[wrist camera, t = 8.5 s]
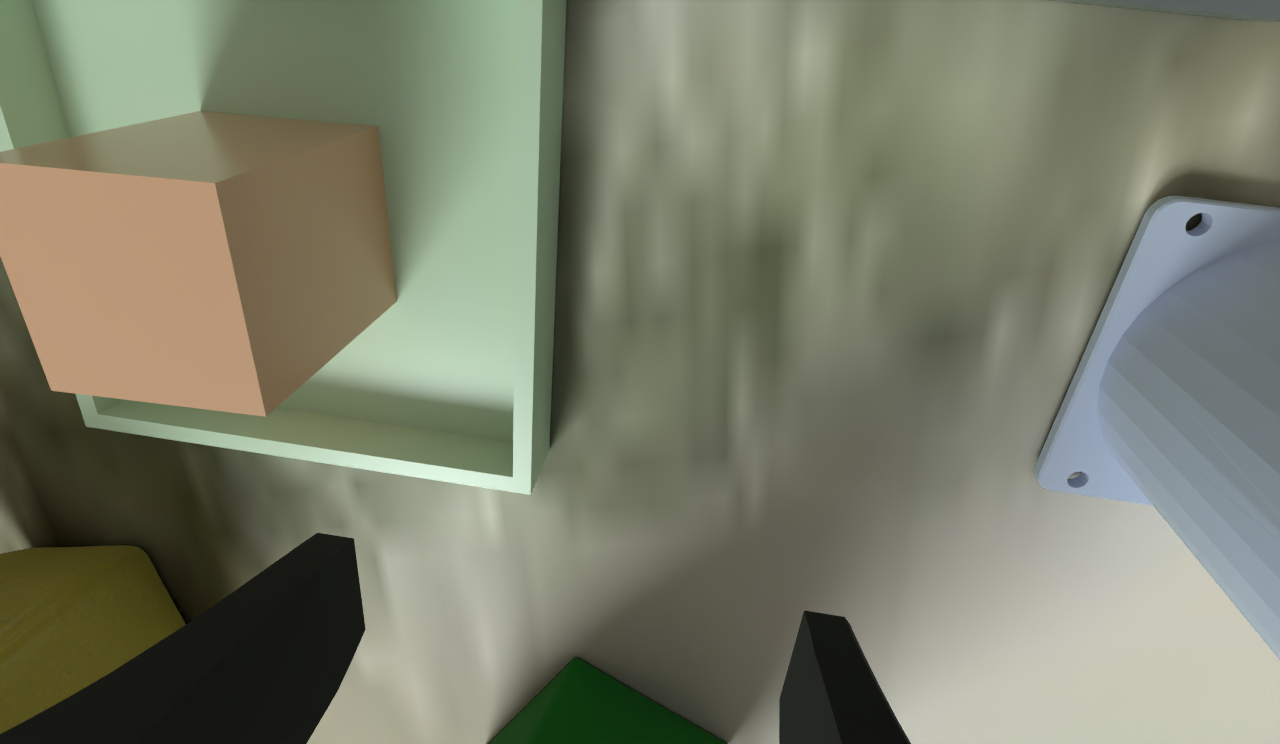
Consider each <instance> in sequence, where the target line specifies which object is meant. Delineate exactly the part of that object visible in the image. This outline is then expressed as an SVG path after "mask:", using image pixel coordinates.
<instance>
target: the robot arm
mask: <svg viewBox="0 0 1280 744" xmlns="http://www.w3.org/2000/svg"><path fill="white" fill-rule="evenodd" d="M1198 213H1202V220H1201V222H1200V224H1199V225H1198V226H1197V227H1196V228H1194V229H1192V230H1190V231H1186V230H1185V228H1186V223H1187V222H1188V220H1189V219H1190V218H1191V217H1192V216H1194V215H1196V214H1198ZM1075 472H1082V473H1081V474H1080V475H1079V476H1078V477H1076V478H1074V479H1067V478H1068V477H1069V476H1070V475H1071V474H1073V473H1075ZM1034 475H1035V478H1036V479H1037V481H1038V483H1039V484H1040V485H1041V486H1042V487H1043V488H1044V489H1047V490H1050V491H1056V492H1063V493H1069V494H1076V495H1083V496H1090V497H1097V498H1104V499H1111V500H1117V501H1124V502H1131V503H1138V504H1145V505H1152V506H1154V507H1155V508H1156V510H1157V511H1158V512H1159V513H1160V515H1161V516H1162V517H1163V518H1164V519H1165V521H1166V522H1167V523H1168V524H1169V526H1170V527H1171V528H1172V529H1173V530H1174V532H1175V533H1176V534H1177V535H1178V537H1179V538H1180V539H1181V540H1182V541H1183V543H1184V544H1185V545H1186V546H1187V547H1188V549H1189V550H1190V551H1191V552H1192V554H1193V555H1194V556H1195V557H1196V558H1197V560H1198V561H1199V562H1200V563H1201V565H1202V566H1203V567H1204V568H1205V569H1206V571H1207V572H1208V573H1209V574H1210V576H1211V577H1212V578H1213V579H1214V580H1215V582H1216V583H1217V584H1218V585H1219V587H1220V588H1221V589H1222V590H1223V591H1224V593H1225V594H1226V595H1227V596H1228V597H1229V599H1230V600H1231V601H1232V602H1233V604H1234V605H1235V606H1236V607H1237V608H1238V610H1239V611H1240V612H1241V613H1242V615H1243V616H1244V617H1245V618H1246V619H1247V621H1248V622H1249V623H1250V624H1251V626H1252V627H1253V628H1254V629H1255V630H1256V632H1257V633H1258V634H1259V635H1260V637H1261V638H1262V639H1263V640H1264V641H1265V643H1266V644H1267V645H1268V646H1269V648H1270V649H1271V650H1272V651H1273V652H1274V654H1275V655H1276V656H1277V657H1278V658H1279V660H1280V208H1278V207H1270V206H1261V205H1253V204H1244V203H1236V202H1227V201H1219V200H1210V199H1202V198H1193V197H1185V196H1167V197H1164V198H1162V199H1159V200H1157V201H1156V202H1155V203H1154V204H1152V205H1151V206H1150V207H1149V208H1148V210H1147V211H1146V213H1145V214H1144V216H1143V219H1142V221H1141V223H1140V226H1139V228H1138V230H1137V233H1136V235H1135V237H1134V240H1133V242H1132V244H1131V246H1130V249H1129V251H1128V253H1127V256H1126V258H1125V260H1124V263H1123V265H1122V267H1121V269H1120V272H1119V274H1118V276H1117V279H1116V281H1115V283H1114V286H1113V288H1112V290H1111V292H1110V295H1109V297H1108V299H1107V302H1106V304H1105V306H1104V309H1103V311H1102V313H1101V315H1100V318H1099V320H1098V322H1097V325H1096V327H1095V329H1094V332H1093V334H1092V336H1091V338H1090V341H1089V343H1088V345H1087V348H1086V350H1085V352H1084V355H1083V357H1082V359H1081V361H1080V364H1079V366H1078V368H1077V371H1076V373H1075V375H1074V378H1073V380H1072V382H1071V384H1070V387H1069V389H1068V391H1067V394H1066V396H1065V398H1064V401H1063V403H1062V405H1061V408H1060V410H1059V412H1058V414H1057V417H1056V419H1055V421H1054V424H1053V426H1052V428H1051V431H1050V433H1049V435H1048V437H1047V440H1046V442H1045V444H1044V447H1043V449H1042V451H1041V454H1040V456H1039V458H1038V460H1037V463H1036V465H1035V468H1034ZM364 631H365V623H364V615H363V607H362V599H361V592H360V584H359V576H358V568H357V560H356V552H355V545H354V539H353V538H346V537H340V536H334V535H328V534H321V533H317V534H315V535H314V536H312V537H311V538H309V539H308V540H306V541H305V542H303V543H302V544H301V545H299V546H298V547H296V548H295V549H293V550H292V551H291V552H289V553H288V554H286V555H285V556H284V557H282V558H281V559H279V560H278V561H276V562H275V563H274V564H272V565H271V566H269V567H268V568H267V569H265V570H264V571H262V572H261V573H260V574H258V575H257V576H255V577H254V578H252V579H251V580H250V581H248V582H247V583H245V584H244V585H243V586H241V587H240V588H238V589H237V590H235V591H234V592H233V593H231V594H230V595H228V596H227V597H225V598H224V599H222V600H221V601H220V602H218V603H217V604H215V605H214V606H212V607H211V608H209V609H208V610H206V611H205V612H204V613H202V614H201V615H199V616H198V617H196V618H195V619H193V620H192V621H190V622H189V623H187V624H186V625H185V626H183V627H181V628H180V629H178V630H177V631H175V632H174V633H172V634H170V635H169V636H167V637H166V638H164V639H163V640H161V641H159V642H158V643H156V644H155V645H153V646H152V647H150V648H148V649H147V650H145V651H144V652H142V653H141V654H139V655H137V656H136V657H134V658H133V659H131V660H130V661H128V662H127V663H125V664H123V665H122V666H120V667H119V668H117V669H116V670H114V671H112V672H111V673H109V674H107V675H106V676H104V677H102V678H101V679H99V680H97V681H96V682H94V683H92V684H90V685H89V686H87V687H85V688H83V689H82V690H80V691H78V692H77V693H75V694H73V695H71V696H70V697H68V698H66V699H64V700H62V701H61V702H59V703H57V704H55V705H53V706H52V707H50V708H48V709H46V710H44V711H42V712H41V713H39V714H37V715H35V716H33V717H32V718H30V719H28V720H26V721H24V722H22V723H20V724H19V725H17V726H15V727H13V728H11V729H9V730H7V731H5V732H3V733H1V734H0V744H306V743H307V742H308V740H309V738H310V737H311V735H312V733H313V732H314V730H315V728H316V726H317V725H318V723H319V721H320V720H321V718H322V716H323V715H324V713H325V711H326V710H327V708H328V706H329V705H330V703H331V701H332V699H333V698H334V696H335V694H336V693H337V691H338V689H339V687H340V685H341V682H342V680H343V678H344V676H345V674H346V672H347V670H348V667H349V665H350V663H351V661H352V659H353V656H354V654H355V652H356V650H357V647H358V645H359V643H360V640H361V638H362V636H363V633H364ZM779 743H780V744H911V743H910V741H909V740H908V738H907V736H906V734H905V733H904V731H903V729H902V727H901V725H900V724H899V722H898V720H897V718H896V716H895V714H894V713H893V711H892V709H891V707H890V705H889V703H888V701H887V699H886V698H885V696H884V694H883V692H882V690H881V688H880V686H879V684H878V682H877V680H876V678H875V676H874V674H873V672H872V670H871V668H870V666H869V664H868V662H867V660H866V658H865V656H864V654H863V652H862V649H861V647H860V645H859V643H858V641H857V639H856V637H855V634H854V632H853V630H852V628H851V626H850V624H849V622H848V621H847V620H846V619H845V617H841V616H834V615H828V614H822V613H816V612H809V611H804V614H803V617H802V621H801V624H800V628H799V632H798V635H797V639H796V642H795V646H794V650H793V653H792V657H791V660H790V664H789V667H788V671H787V675H786V678H785V682H784V685H783V689H782V692H781V696H780V727H779Z"/></svg>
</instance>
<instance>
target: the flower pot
mask: <svg viewBox="0 0 1280 744" xmlns="http://www.w3.org/2000/svg"><path fill="white" fill-rule="evenodd" d="M185 625H186V624H185V622H184V620H183V618H182V617H181V615H180V613H179V611H178V610H177V608H176V606H175V604H174V603H173V601H172V599H171V597H170V595H169V593H168V592H167V590H166V588H165V586H164V584H163V582H162V581H161V579H160V577H159V575H158V573H157V571H156V569H155V567H154V566H153V564H152V562H151V560H150V559H149V557H148V555H147V554H146V553H145V552H144V551H143V550H142V549H141V548H138V547H136V546H129V545H122V546H88V547H40V548H29V549H23V550H18V551H13V552H8V553H3V554H0V734H1V733H3V732H5V731H7V730H9V729H11V728H13V727H15V726H17V725H19V724H20V723H22V722H24V721H26V720H28V719H30V718H32V717H33V716H35V715H37V714H39V713H41V712H42V711H44V710H46V709H48V708H50V707H52V706H53V705H55V704H57V703H59V702H61V701H62V700H64V699H66V698H68V697H70V696H71V695H73V694H75V693H77V692H78V691H80V690H82V689H83V688H85V687H87V686H89V685H90V684H92V683H94V682H96V681H97V680H99V679H101V678H102V677H104V676H106V675H107V674H109V673H111V672H112V671H114V670H116V669H117V668H119V667H120V666H122V665H123V664H125V663H127V662H128V661H130V660H131V659H133V658H134V657H136V656H137V655H139V654H141V653H142V652H144V651H145V650H147V649H148V648H150V647H152V646H153V645H155V644H156V643H158V642H159V641H161V640H163V639H164V638H166V637H167V636H169V635H170V634H172V633H174V632H175V631H177V630H178V629H180V628H181V627H183V626H185Z"/></svg>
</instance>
